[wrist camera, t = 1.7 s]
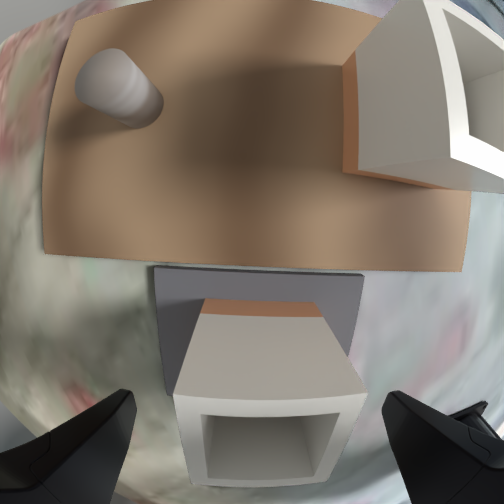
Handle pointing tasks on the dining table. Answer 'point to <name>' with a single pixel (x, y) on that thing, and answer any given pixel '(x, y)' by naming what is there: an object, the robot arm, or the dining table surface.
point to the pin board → (227, 145)
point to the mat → (245, 288)
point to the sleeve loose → (264, 395)
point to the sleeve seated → (427, 100)
